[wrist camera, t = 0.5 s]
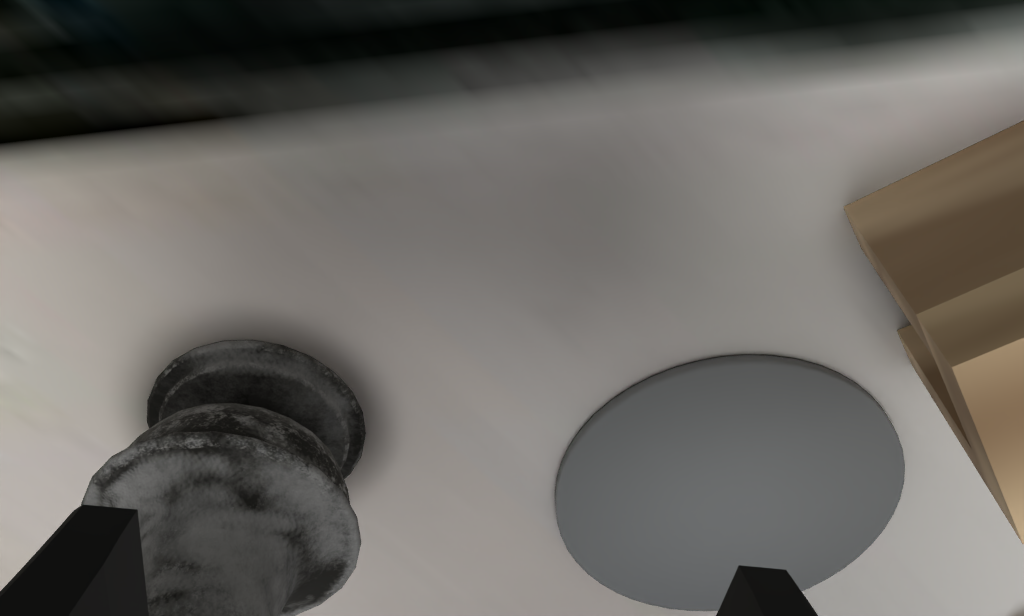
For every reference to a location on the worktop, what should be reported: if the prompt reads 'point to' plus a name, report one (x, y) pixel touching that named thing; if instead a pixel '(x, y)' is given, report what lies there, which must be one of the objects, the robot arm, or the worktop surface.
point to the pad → (727, 479)
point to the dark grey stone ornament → (241, 483)
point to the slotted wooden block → (962, 296)
